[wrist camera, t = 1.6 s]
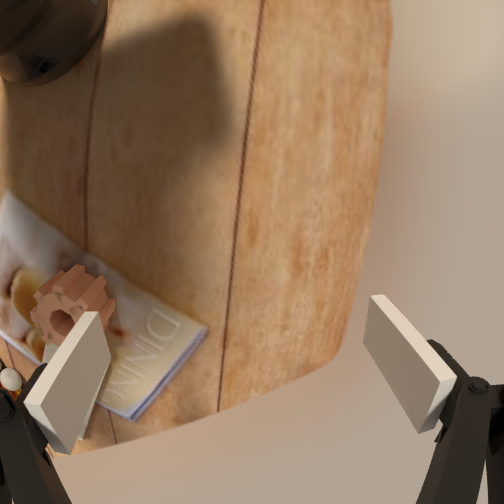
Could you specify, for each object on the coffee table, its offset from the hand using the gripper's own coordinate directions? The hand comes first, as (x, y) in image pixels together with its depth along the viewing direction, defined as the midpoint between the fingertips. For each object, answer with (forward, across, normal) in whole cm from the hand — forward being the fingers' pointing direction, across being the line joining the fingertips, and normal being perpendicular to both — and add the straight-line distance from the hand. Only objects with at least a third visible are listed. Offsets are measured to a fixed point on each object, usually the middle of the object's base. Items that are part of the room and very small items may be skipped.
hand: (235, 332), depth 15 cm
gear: (+19, -18, -7) cm, 28 cm away
